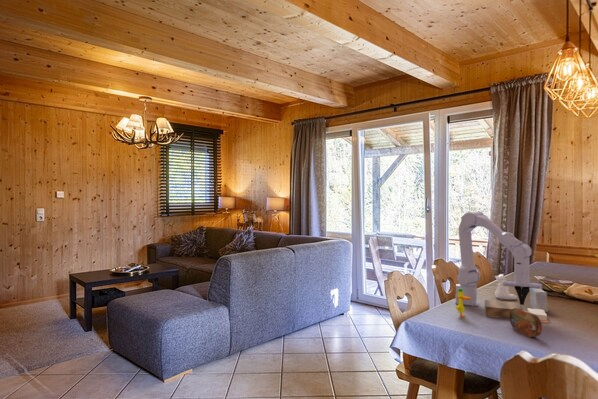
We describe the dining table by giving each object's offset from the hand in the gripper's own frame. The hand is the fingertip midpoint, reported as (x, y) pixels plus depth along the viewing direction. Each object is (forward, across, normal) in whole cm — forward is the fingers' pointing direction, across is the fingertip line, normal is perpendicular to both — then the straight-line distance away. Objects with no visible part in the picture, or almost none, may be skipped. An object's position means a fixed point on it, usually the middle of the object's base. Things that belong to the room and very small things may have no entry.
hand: (521, 304), depth 166 cm
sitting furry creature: (+5, -5, +29) cm, 30 cm away
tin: (+5, -1, -23) cm, 24 cm away
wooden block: (+5, -7, 0) cm, 9 cm away
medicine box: (+5, +8, +14) cm, 17 cm away
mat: (+5, +4, 0) cm, 7 cm away
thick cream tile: (+3, +6, 0) cm, 6 cm away
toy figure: (+5, -23, -11) cm, 26 cm away
